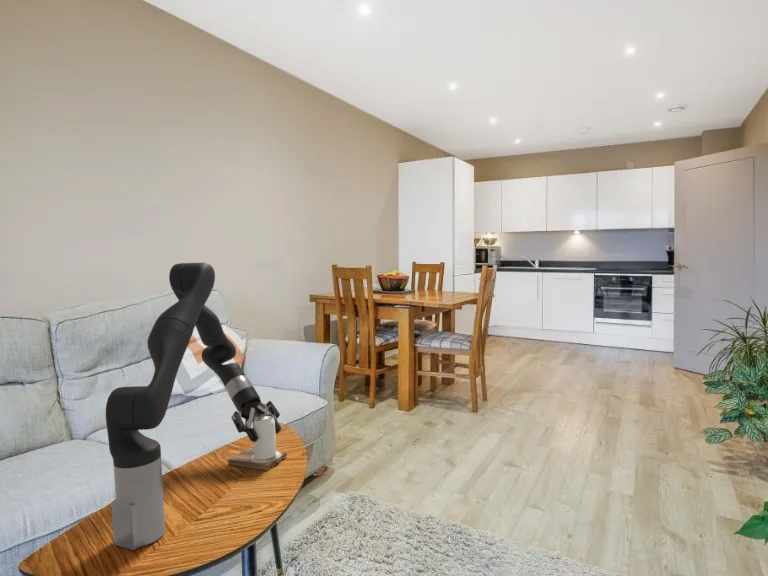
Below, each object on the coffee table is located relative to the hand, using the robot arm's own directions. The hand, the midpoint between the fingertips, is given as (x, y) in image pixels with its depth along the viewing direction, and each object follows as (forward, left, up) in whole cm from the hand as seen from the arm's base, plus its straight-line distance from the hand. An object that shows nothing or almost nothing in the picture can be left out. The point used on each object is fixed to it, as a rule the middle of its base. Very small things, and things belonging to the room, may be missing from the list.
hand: (267, 436), depth 140 cm
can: (0, +1, -7) cm, 7 cm away
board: (0, +4, -8) cm, 9 cm away
